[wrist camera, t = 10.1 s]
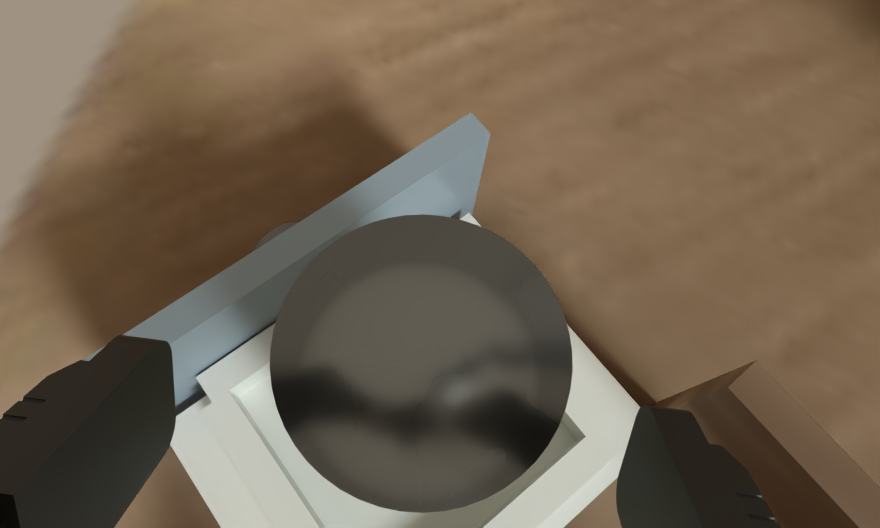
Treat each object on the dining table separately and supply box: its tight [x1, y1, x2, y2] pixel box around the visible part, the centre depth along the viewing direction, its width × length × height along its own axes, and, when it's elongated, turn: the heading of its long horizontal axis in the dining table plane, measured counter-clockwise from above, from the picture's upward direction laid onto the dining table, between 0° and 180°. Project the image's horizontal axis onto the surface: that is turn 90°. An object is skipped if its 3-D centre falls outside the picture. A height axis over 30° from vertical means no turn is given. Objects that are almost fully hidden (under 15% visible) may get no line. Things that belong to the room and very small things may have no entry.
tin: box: [270, 214, 573, 513], centre depth 15 cm, size 5×5×10 cm
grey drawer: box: [84, 113, 640, 528], centre depth 19 cm, size 14×13×6 cm
